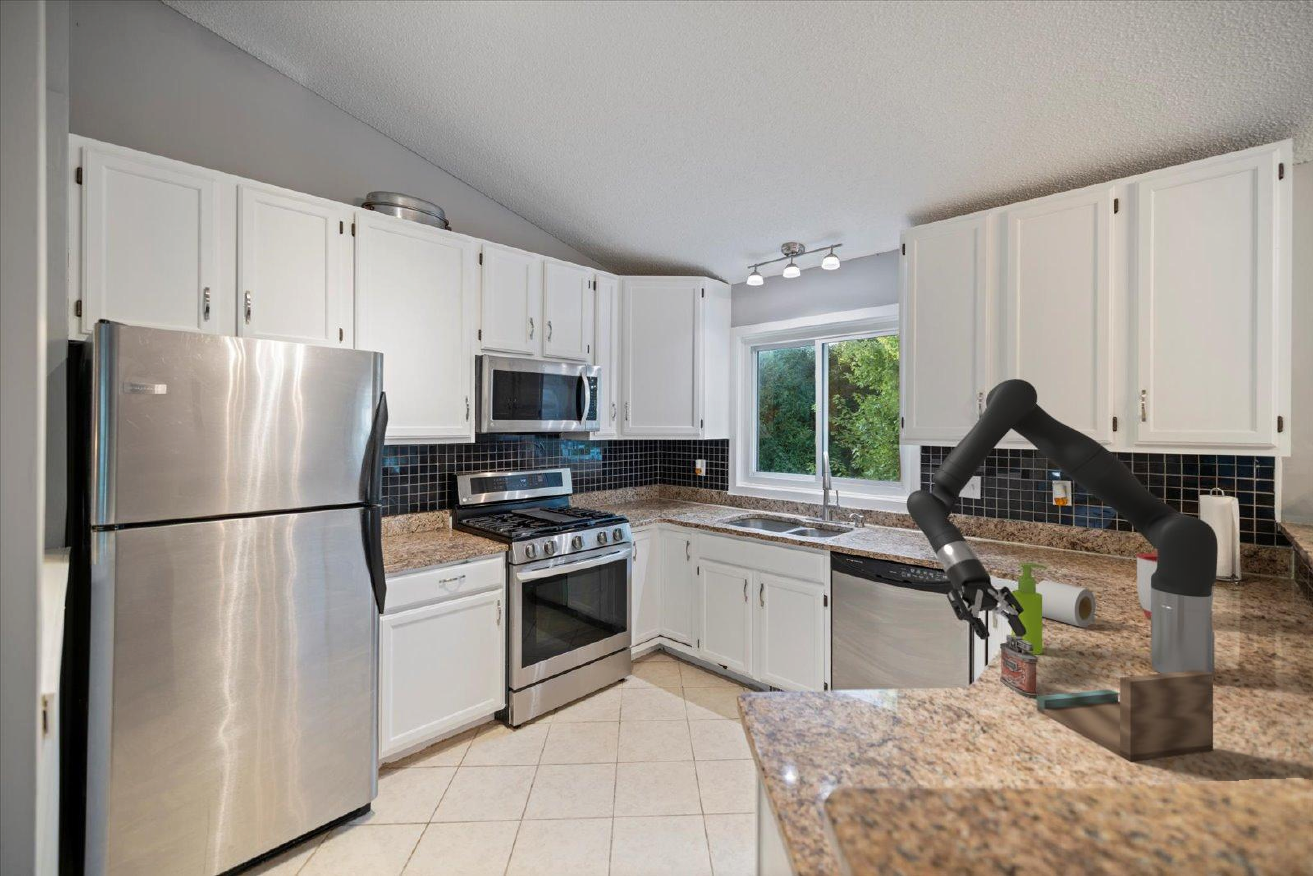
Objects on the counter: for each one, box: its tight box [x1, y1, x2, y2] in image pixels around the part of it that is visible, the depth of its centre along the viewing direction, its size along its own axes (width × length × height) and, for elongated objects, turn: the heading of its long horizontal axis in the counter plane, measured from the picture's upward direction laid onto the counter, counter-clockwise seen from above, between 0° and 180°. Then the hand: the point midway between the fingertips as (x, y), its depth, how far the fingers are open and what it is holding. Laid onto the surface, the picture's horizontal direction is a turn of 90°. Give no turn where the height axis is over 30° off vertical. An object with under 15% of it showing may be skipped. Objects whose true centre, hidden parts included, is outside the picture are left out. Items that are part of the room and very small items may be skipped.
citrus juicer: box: [1135, 552, 1214, 619], centre depth 148 cm, size 16×17×20 cm
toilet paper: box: [1036, 579, 1097, 628], centre depth 148 cm, size 10×10×10 cm
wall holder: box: [1036, 670, 1214, 763], centre depth 92 cm, size 16×16×12 cm
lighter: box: [999, 634, 1038, 700], centre depth 107 cm, size 8×3×10 cm, turn 5°
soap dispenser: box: [1011, 562, 1049, 655], centre depth 127 cm, size 6×7×20 cm
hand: (1004, 636), depth 110 cm, fingers open, 8 cm apart
